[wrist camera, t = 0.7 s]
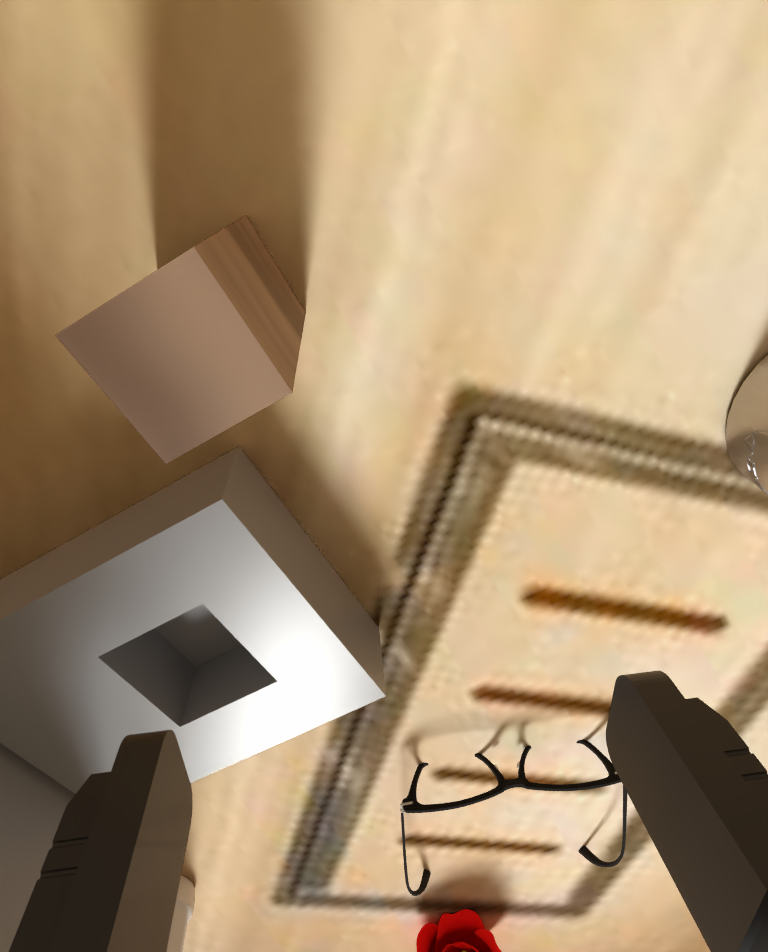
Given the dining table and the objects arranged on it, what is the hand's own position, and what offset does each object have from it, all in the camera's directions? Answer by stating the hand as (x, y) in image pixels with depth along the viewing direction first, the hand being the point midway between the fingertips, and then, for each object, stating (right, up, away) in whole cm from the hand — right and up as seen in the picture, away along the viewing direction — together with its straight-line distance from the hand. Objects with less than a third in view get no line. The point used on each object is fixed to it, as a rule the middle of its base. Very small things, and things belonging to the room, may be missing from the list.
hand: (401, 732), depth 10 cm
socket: (-12, -3, +22) cm, 25 cm away
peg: (-7, +12, +14) cm, 20 cm away
